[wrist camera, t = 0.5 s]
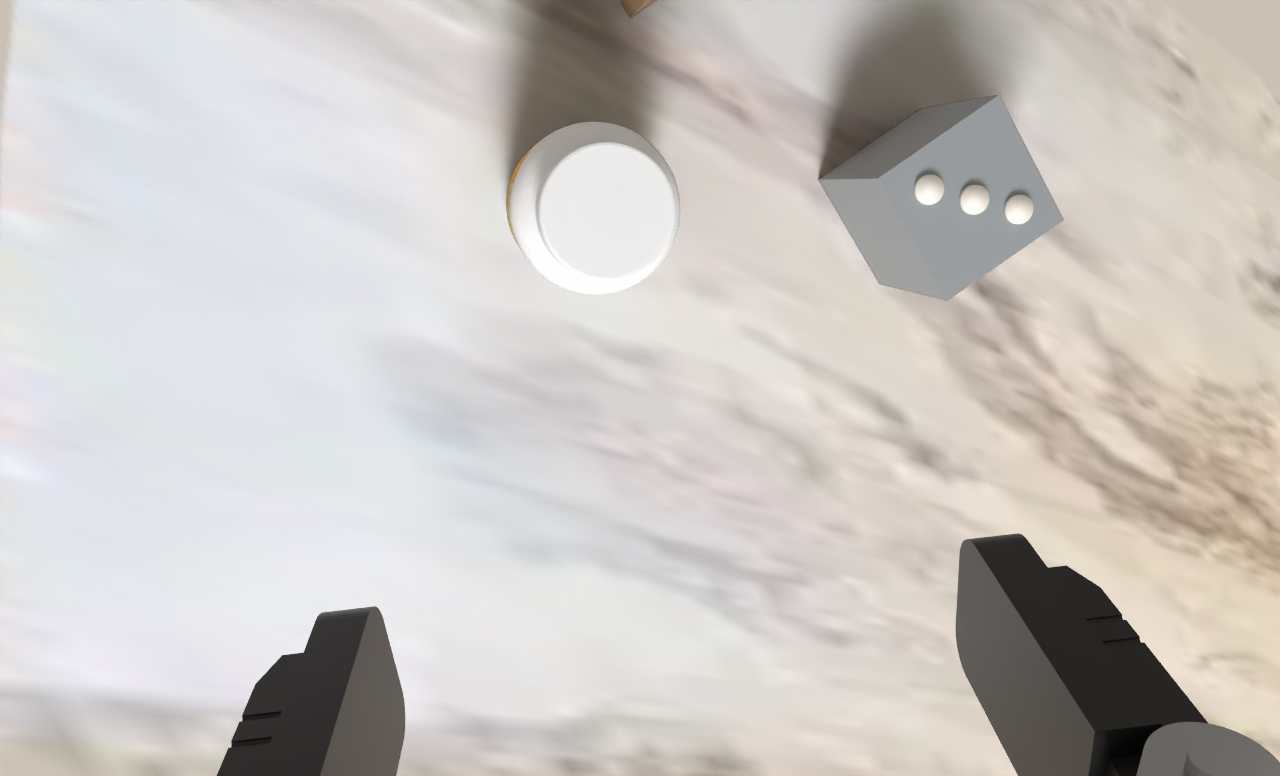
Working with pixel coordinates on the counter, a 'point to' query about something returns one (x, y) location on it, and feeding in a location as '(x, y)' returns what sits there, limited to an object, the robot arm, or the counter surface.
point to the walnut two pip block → (635, 6)
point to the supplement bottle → (593, 207)
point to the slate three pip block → (942, 197)
